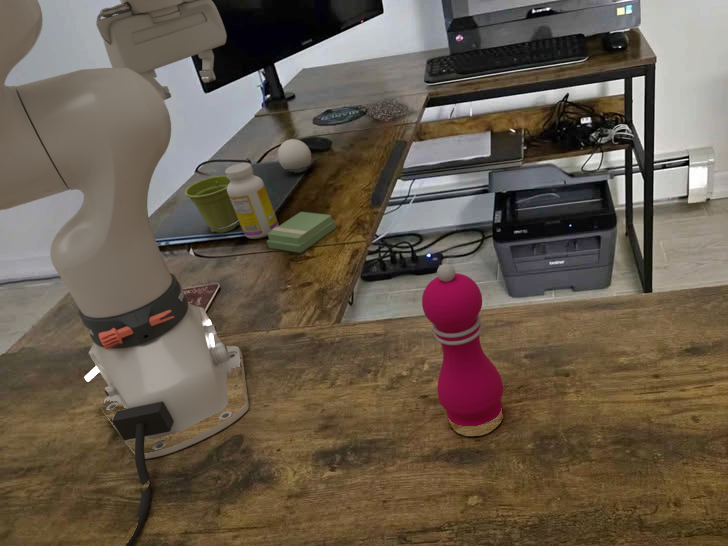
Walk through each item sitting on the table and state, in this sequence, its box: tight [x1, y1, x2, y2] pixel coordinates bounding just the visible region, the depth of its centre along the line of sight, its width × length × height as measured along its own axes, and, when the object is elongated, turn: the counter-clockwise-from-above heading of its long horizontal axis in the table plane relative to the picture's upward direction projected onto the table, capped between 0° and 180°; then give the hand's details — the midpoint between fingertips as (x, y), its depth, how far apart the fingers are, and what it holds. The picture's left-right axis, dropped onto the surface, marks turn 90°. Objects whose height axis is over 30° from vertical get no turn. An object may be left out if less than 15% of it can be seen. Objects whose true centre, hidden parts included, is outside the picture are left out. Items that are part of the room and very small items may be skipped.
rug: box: [357, 97, 415, 122], centre depth 181 cm, size 10×20×1 cm, turn 28°
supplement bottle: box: [224, 162, 280, 240], centre depth 125 cm, size 7×7×13 cm
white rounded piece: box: [277, 138, 312, 174], centre depth 151 cm, size 10×7×7 cm
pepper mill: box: [421, 263, 504, 426], centre depth 70 cm, size 7×7×20 cm
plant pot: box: [184, 174, 241, 234], centre depth 131 cm, size 9×9×9 cm
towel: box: [266, 211, 337, 254], centre depth 123 cm, size 10×8×3 cm
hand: (188, 90), depth 110 cm, fingers open, 8 cm apart
